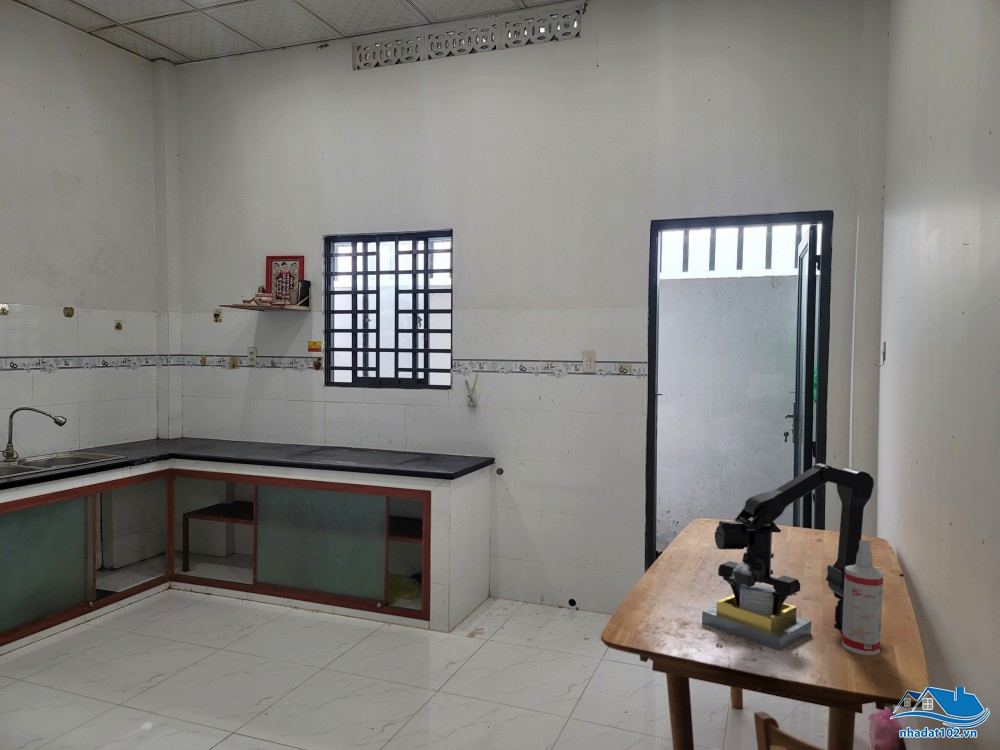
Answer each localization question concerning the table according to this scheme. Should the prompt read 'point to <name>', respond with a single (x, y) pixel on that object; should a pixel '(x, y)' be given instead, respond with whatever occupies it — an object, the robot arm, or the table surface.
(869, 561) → the white squeeze bottle
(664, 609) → the table surface
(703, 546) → the table surface
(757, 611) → the medicine box
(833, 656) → the table surface
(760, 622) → the gold and grey tray
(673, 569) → the table surface
